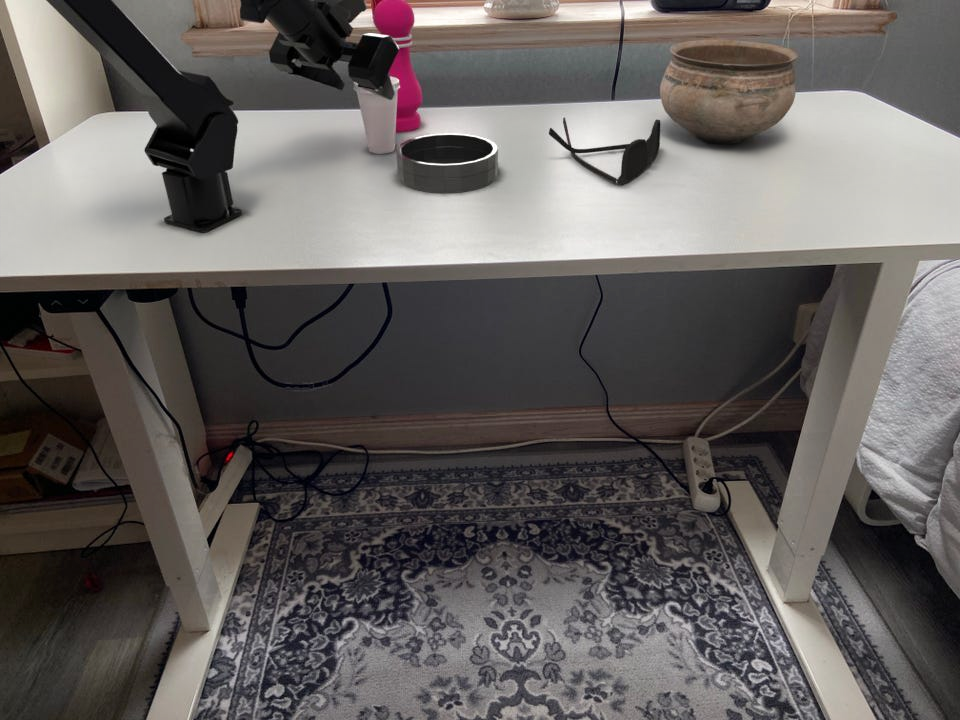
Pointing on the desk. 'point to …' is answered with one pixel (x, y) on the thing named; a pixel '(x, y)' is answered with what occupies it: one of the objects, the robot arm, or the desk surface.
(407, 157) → the pan
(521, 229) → the desk surface
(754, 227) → the desk surface
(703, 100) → the cooking pot
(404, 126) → the pepper mill
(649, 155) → the sunglasses
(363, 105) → the smoothie
